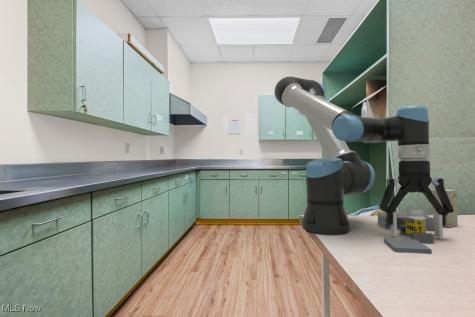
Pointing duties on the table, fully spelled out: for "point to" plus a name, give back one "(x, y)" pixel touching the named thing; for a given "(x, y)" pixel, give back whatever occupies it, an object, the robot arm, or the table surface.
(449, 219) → the skincare box
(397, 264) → the table surface
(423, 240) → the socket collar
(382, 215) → the plunger block
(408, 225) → the supplement bottle
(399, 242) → the pad
